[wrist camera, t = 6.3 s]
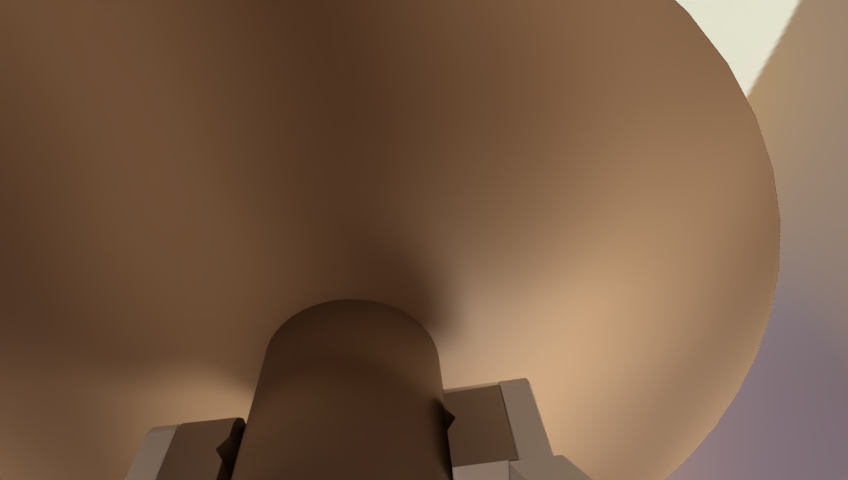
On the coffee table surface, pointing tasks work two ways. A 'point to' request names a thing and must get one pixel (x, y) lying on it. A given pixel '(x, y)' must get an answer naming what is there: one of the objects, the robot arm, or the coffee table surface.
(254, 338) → the lid
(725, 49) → the coffee table surface
